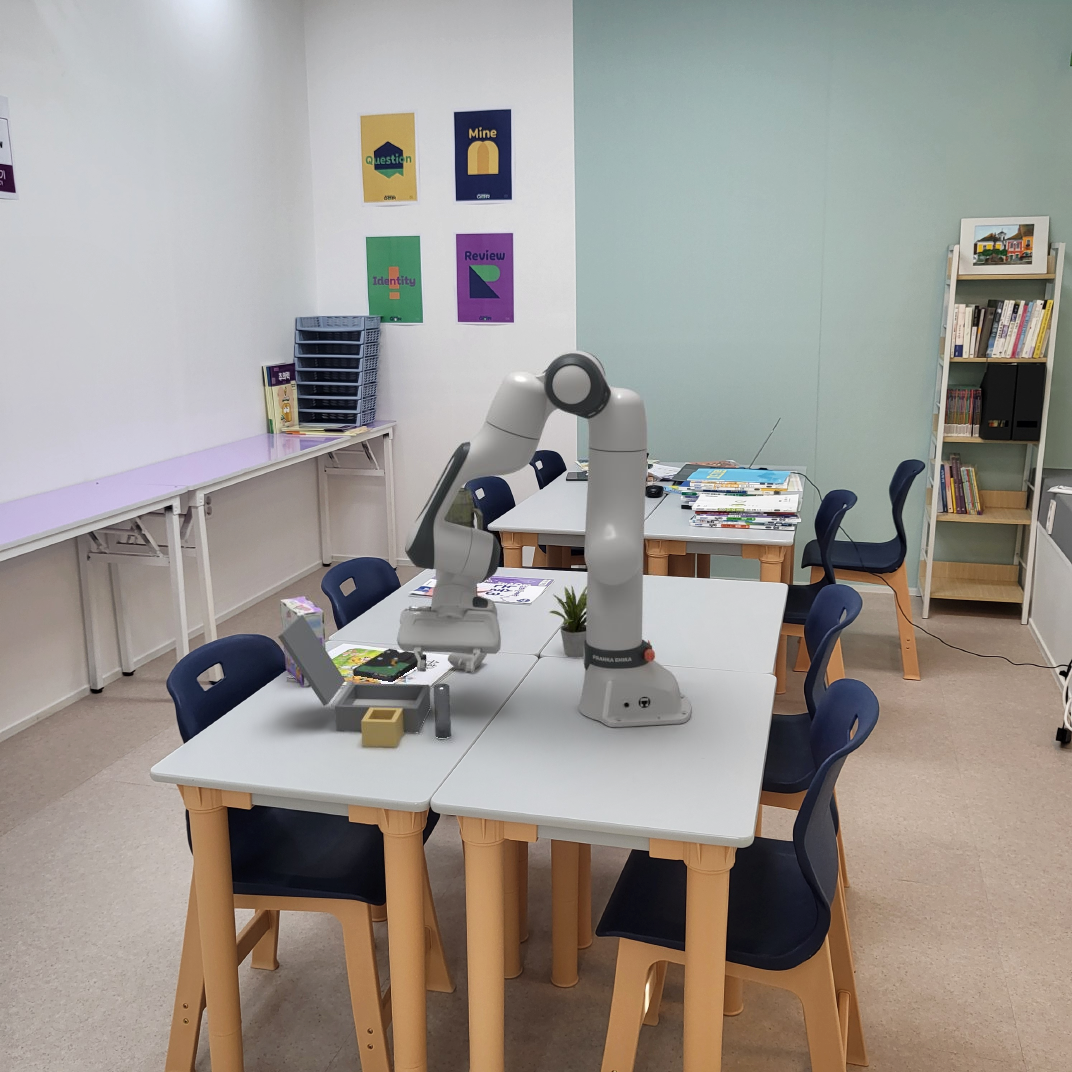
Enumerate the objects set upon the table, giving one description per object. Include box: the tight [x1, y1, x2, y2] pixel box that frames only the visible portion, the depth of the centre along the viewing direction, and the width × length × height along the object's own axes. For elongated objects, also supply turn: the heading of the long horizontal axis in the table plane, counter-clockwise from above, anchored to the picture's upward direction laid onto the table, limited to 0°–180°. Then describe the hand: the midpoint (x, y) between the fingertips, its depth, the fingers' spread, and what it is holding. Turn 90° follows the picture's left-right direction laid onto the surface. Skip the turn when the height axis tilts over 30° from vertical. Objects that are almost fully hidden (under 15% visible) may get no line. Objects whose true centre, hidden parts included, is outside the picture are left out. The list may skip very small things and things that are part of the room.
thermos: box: [444, 487, 484, 596], centre depth 248 cm, size 9×12×35 cm
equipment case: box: [330, 679, 431, 733], centre depth 195 cm, size 17×12×6 cm
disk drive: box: [352, 648, 427, 682], centre depth 221 cm, size 10×3×15 cm
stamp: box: [447, 652, 488, 671], centre depth 222 cm, size 9×7×8 cm
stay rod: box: [433, 683, 452, 738], centre depth 186 cm, size 3×3×10 cm
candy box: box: [279, 596, 327, 688], centre depth 217 cm, size 14×6×16 cm, turn 30°
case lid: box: [277, 615, 346, 707], centre depth 194 cm, size 16×12×1 cm
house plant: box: [548, 585, 587, 658], centre depth 227 cm, size 14×14×16 cm
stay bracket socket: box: [361, 707, 405, 748], centre depth 186 cm, size 6×6×5 cm
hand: (445, 671), depth 191 cm, fingers open, 8 cm apart
